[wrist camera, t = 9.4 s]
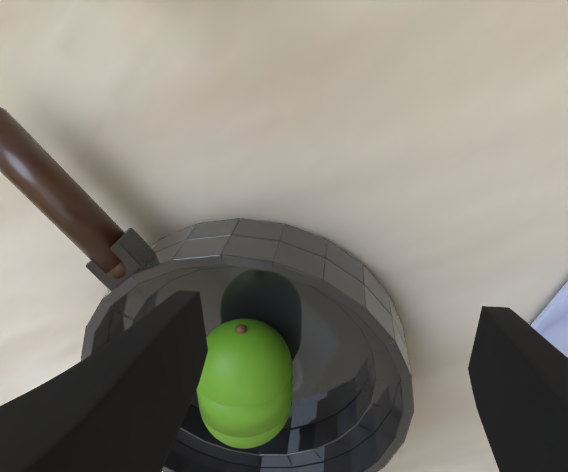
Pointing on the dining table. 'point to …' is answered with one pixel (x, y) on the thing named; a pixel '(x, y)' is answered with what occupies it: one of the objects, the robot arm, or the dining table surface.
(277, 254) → the pan
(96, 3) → the dining table surface
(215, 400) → the lime
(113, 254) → the pan handle
